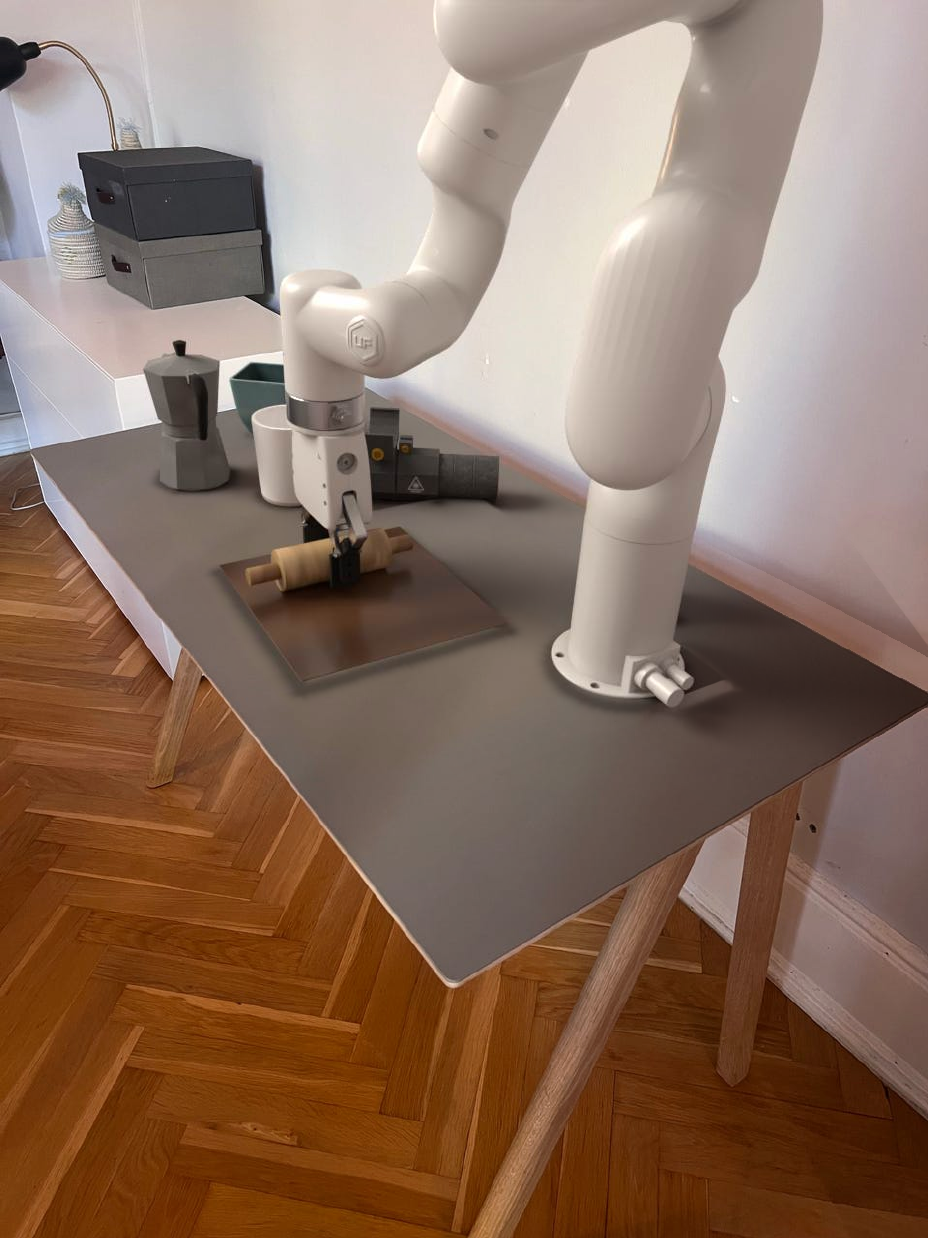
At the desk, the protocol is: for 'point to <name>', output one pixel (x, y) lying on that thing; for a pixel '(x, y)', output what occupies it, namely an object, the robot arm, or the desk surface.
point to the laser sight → (422, 466)
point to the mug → (274, 455)
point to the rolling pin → (324, 560)
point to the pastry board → (364, 612)
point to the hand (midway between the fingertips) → (331, 569)
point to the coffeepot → (188, 419)
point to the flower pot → (257, 389)
